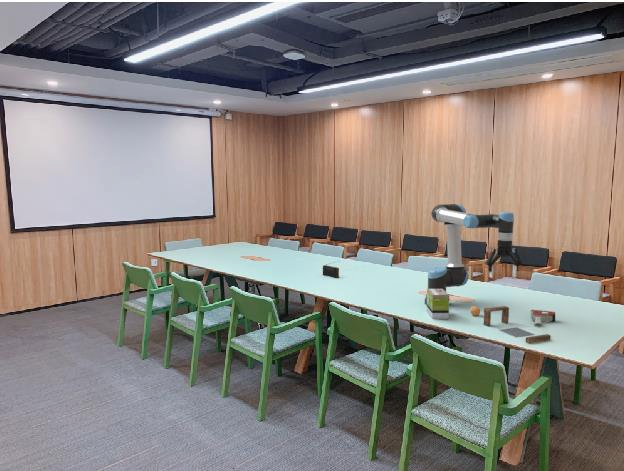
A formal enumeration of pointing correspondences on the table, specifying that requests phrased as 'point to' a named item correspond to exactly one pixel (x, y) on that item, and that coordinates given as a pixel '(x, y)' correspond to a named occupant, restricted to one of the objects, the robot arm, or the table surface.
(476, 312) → the ball
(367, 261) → the table surface
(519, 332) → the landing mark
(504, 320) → the bridge
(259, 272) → the table surface
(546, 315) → the tape dispenser
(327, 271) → the radio
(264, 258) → the table surface
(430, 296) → the tea box
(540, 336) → the brown wooden bar
